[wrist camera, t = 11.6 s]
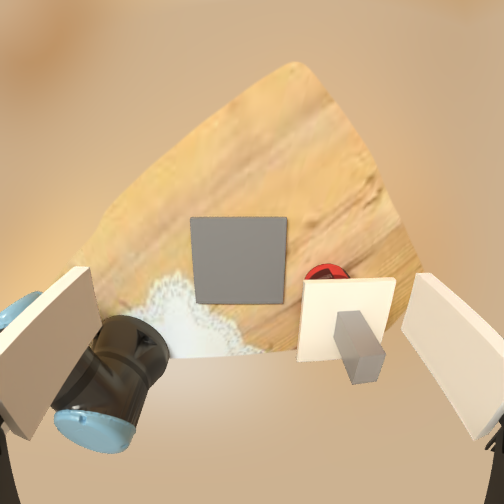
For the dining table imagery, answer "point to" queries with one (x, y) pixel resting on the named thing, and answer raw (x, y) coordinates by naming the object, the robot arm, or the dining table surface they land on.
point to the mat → (238, 259)
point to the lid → (345, 323)
